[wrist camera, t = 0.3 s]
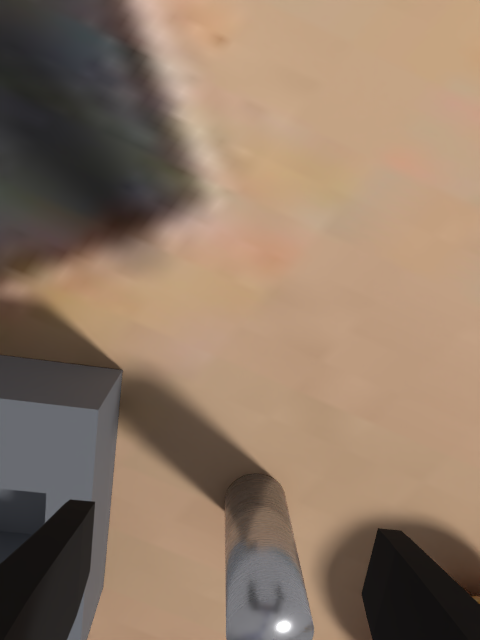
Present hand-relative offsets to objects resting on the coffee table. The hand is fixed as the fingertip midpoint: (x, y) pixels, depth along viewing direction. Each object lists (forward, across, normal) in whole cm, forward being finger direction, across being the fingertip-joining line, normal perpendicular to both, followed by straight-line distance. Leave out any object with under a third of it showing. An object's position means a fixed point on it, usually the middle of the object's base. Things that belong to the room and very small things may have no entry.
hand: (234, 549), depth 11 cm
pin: (+10, -2, +6) cm, 11 cm away
